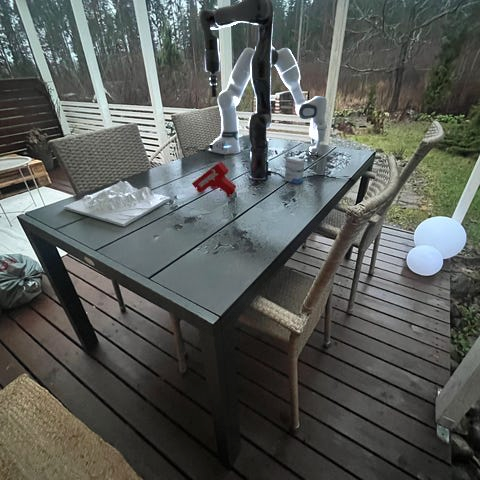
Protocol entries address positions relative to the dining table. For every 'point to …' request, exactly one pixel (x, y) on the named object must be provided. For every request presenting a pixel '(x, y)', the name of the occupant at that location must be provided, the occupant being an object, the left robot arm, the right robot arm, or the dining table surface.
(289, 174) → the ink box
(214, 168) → the toy gun
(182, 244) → the dining table surface
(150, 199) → the relief map
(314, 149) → the block
